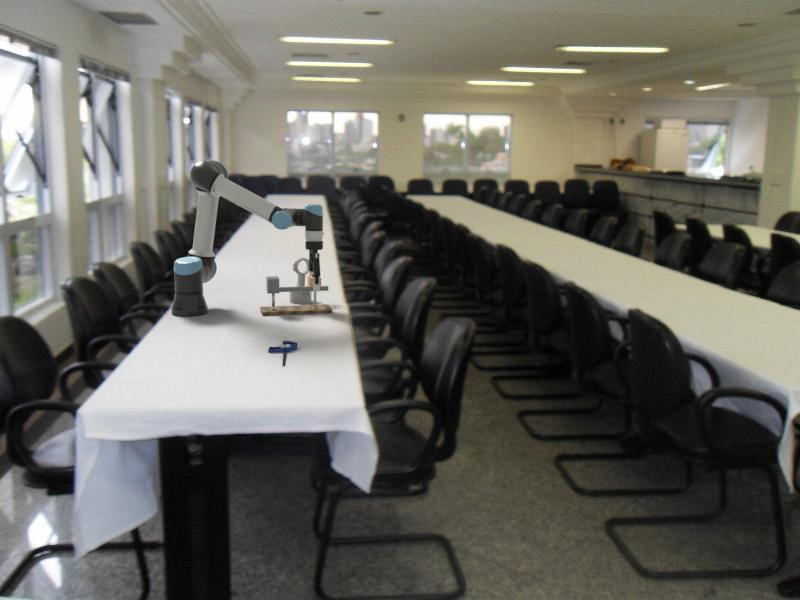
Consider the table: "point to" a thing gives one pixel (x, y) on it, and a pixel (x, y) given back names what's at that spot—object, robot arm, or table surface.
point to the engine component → (300, 285)
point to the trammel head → (310, 284)
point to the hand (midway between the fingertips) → (314, 288)
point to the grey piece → (285, 288)
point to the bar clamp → (284, 349)
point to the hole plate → (295, 310)
